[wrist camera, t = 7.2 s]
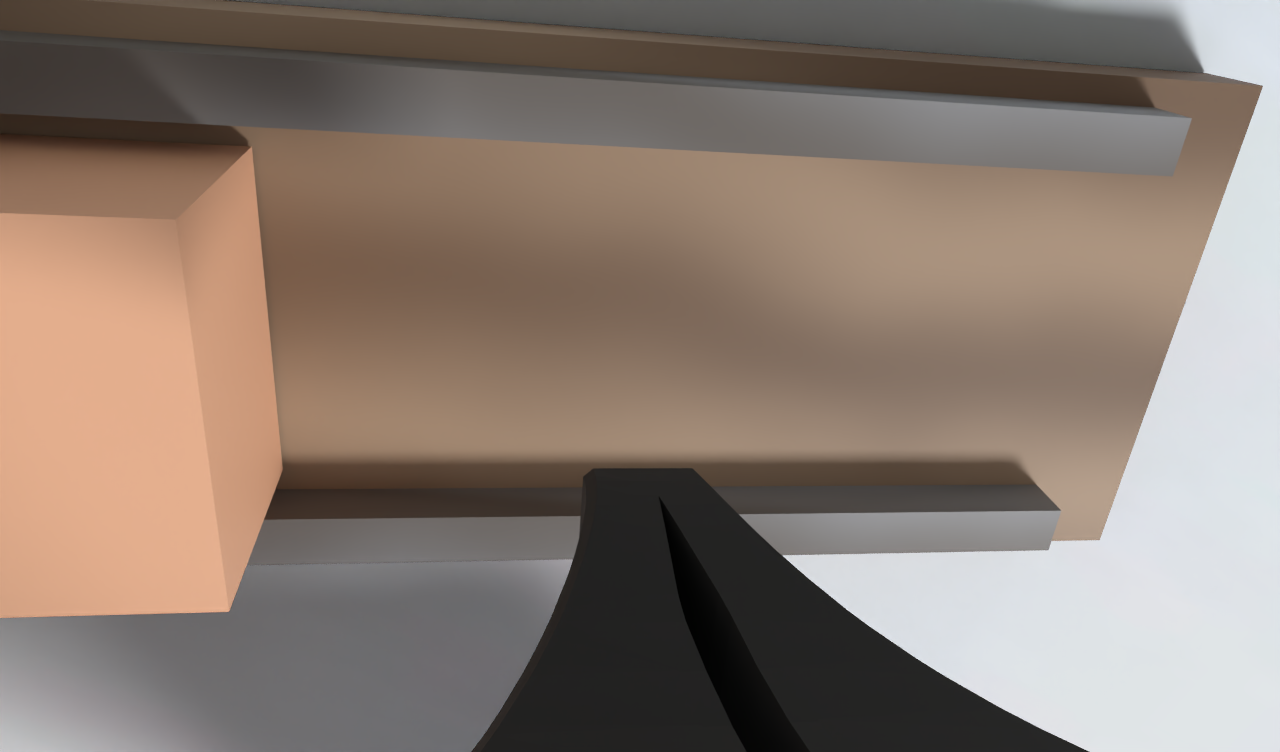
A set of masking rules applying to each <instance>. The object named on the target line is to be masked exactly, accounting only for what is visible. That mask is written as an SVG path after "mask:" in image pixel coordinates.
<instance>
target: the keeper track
mask: <svg viewBox="0 0 1280 752" xmlns="http://www.w3.org/2000/svg"><path fill="white" fill-rule="evenodd" d="M1262 87H1263V86H1261V85H1256V84H1252V83H1247V82H1243V81H1238V80H1234V79H1229V78H1225V77H1220V76H1216V75H1211V74H1207V73H1194V72H1180V71H1167V70H1154V69H1140V68H1127V67H1113V66H1100V65H1086V64H1073V63H1059V62H1046V61H1033V60H1019V59H1006V58H992V57H979V56H965V55H952V54H939V53H925V52H912V51H898V50H885V49H871V48H858V47H844V46H831V45H818V44H804V43H791V42H777V41H764V40H750V39H737V38H724V37H710V36H697V35H683V34H670V33H656V32H643V31H629V30H616V29H603V28H589V27H576V26H562V25H549V24H535V23H522V22H509V21H495V20H482V19H468V18H455V17H441V16H428V15H415V14H401V13H388V12H374V11H361V10H347V9H334V8H320V7H307V6H294V5H280V4H267V3H253V2H240V1H226V0H0V134H14V135H34V136H53V137H73V138H93V139H113V140H133V141H152V142H172V143H192V144H212V145H232V146H251V147H252V154H253V164H254V175H255V185H256V196H257V206H258V216H259V227H260V237H261V248H262V258H263V268H264V279H265V289H266V300H267V310H268V320H269V331H270V341H271V352H272V362H273V373H274V383H275V393H276V404H277V414H278V425H279V435H280V445H281V456H282V466H283V470H282V473H281V476H280V478H279V481H278V484H277V486H276V489H275V492H274V494H273V497H272V500H271V502H270V505H269V507H268V510H267V513H266V515H265V518H264V521H263V523H262V526H261V529H260V531H259V534H258V537H257V539H256V542H255V545H254V547H253V550H252V553H251V555H250V558H249V560H248V563H247V565H284V564H337V563H390V562H443V561H496V560H549V559H573V558H574V555H575V551H576V548H577V544H578V540H579V532H580V517H581V502H582V487H583V476H585V475H586V474H587V473H588V472H589V471H591V470H592V469H593V468H693V469H694V470H695V471H696V472H697V473H698V474H699V475H700V476H701V477H702V478H703V479H704V480H705V481H706V482H707V483H708V484H709V485H710V486H711V487H712V488H713V489H714V490H715V491H716V492H717V493H718V494H719V495H720V496H721V497H722V498H723V499H724V500H725V501H726V502H727V503H728V504H729V505H730V506H731V507H732V508H733V509H734V510H735V511H736V512H737V513H738V514H739V515H740V516H741V517H742V518H743V519H744V520H745V521H746V522H747V523H748V524H749V525H750V526H751V527H752V528H753V529H754V530H755V531H756V532H757V533H758V534H759V535H760V536H761V537H763V538H764V539H765V540H766V541H767V542H768V543H769V544H770V545H771V546H772V547H773V548H774V549H775V550H776V551H778V552H779V553H780V554H781V555H814V554H867V553H920V552H973V551H1026V550H1048V549H1049V546H1050V543H1051V541H1067V540H1100V537H1101V534H1102V532H1103V529H1104V526H1105V523H1106V521H1107V518H1108V515H1109V512H1110V509H1111V507H1112V504H1113V501H1114V498H1115V496H1116V493H1117V490H1118V487H1119V484H1120V482H1121V479H1122V476H1123V473H1124V471H1125V468H1126V465H1127V462H1128V459H1129V457H1130V454H1131V451H1132V448H1133V445H1134V443H1135V440H1136V437H1137V434H1138V432H1139V429H1140V426H1141V423H1142V420H1143V418H1144V415H1145V412H1146V409H1147V407H1148V404H1149V401H1150V398H1151V395H1152V393H1153V390H1154V387H1155V384H1156V382H1157V379H1158V376H1159V373H1160V370H1161V368H1162V365H1163V362H1164V359H1165V357H1166V354H1167V351H1168V348H1169V345H1170V343H1171V340H1172V337H1173V334H1174V332H1175V329H1176V326H1177V323H1178V320H1179V318H1180V315H1181V312H1182V309H1183V307H1184V304H1185V301H1186V298H1187V295H1188V293H1189V290H1190V287H1191V284H1192V282H1193V279H1194V276H1195V273H1196V270H1197V268H1198V265H1199V262H1200V259H1201V257H1202V254H1203V251H1204V248H1205V245H1206V243H1207V240H1208V237H1209V234H1210V232H1211V229H1212V226H1213V223H1214V220H1215V218H1216V215H1217V212H1218V209H1219V207H1220V204H1221V201H1222V198H1223V195H1224V193H1225V190H1226V187H1227V184H1228V181H1229V179H1230V176H1231V173H1232V170H1233V168H1234V165H1235V162H1236V159H1237V156H1238V154H1239V151H1240V148H1241V145H1242V143H1243V140H1244V137H1245V134H1246V131H1247V129H1248V126H1249V123H1250V120H1251V118H1252V115H1253V112H1254V109H1255V106H1256V104H1257V101H1258V98H1259V95H1260V93H1261V90H1262Z"/></svg>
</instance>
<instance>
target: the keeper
mask: <svg viewBox="0 0 1280 752" xmlns="http://www.w3.org/2000/svg"><path fill="white" fill-rule="evenodd" d="M282 470H283V466H282V456H281V445H280V435H279V425H278V414H277V404H276V393H275V383H274V373H273V362H272V352H271V341H270V331H269V320H268V310H267V300H266V289H265V279H264V268H263V258H262V248H261V237H260V227H259V216H258V206H257V196H256V185H255V175H254V164H253V154H252V147H251V146H232V145H212V144H192V143H172V142H152V141H133V140H113V139H93V138H73V137H53V136H34V135H14V134H0V618H15V617H52V616H90V615H128V614H166V613H203V612H229V611H230V608H231V605H232V603H233V600H234V598H235V595H236V592H237V590H238V587H239V584H240V582H241V579H242V576H243V574H244V571H245V568H246V566H247V563H248V560H249V558H250V555H251V553H252V550H253V547H254V545H255V542H256V539H257V537H258V534H259V531H260V529H261V526H262V523H263V521H264V518H265V515H266V513H267V510H268V507H269V505H270V502H271V500H272V497H273V494H274V492H275V489H276V486H277V484H278V481H279V478H280V476H281V473H282Z"/></svg>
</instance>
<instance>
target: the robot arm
mask: <svg viewBox="0 0 1280 752" xmlns="http://www.w3.org/2000/svg"><path fill="white" fill-rule="evenodd" d="M472 752H1089V751H1086V750H1084V749H1082V748H1080V747H1078V746H1076V745H1074V744H1072V743H1069V742H1067V741H1065V740H1063V739H1061V738H1059V737H1057V736H1055V735H1053V734H1050V733H1048V732H1046V731H1044V730H1042V729H1040V728H1038V727H1036V726H1034V725H1032V724H1030V723H1028V722H1026V721H1024V720H1023V719H1021V718H1019V717H1017V716H1015V715H1013V714H1011V713H1009V712H1007V711H1005V710H1003V709H1001V708H999V707H998V706H996V705H994V704H992V703H991V702H989V701H987V700H985V699H984V698H982V697H980V696H978V695H977V694H975V693H973V692H971V691H970V690H968V689H966V688H964V687H963V686H961V685H959V684H957V683H956V682H954V681H952V680H950V679H949V678H947V677H945V676H943V675H942V674H940V673H939V672H937V671H935V670H934V669H932V668H931V667H929V666H927V665H926V664H924V663H922V662H921V661H919V660H918V659H916V658H915V657H913V656H912V655H910V654H909V653H907V652H906V651H904V650H903V649H901V648H900V647H898V646H897V645H896V644H894V643H893V642H891V641H890V640H888V639H887V638H885V637H884V636H882V635H881V634H879V633H878V632H877V631H875V630H874V629H872V628H871V627H869V626H868V625H866V624H865V623H864V622H862V621H861V620H860V619H858V618H857V617H856V616H854V615H853V614H852V613H850V612H849V611H848V610H846V609H845V608H844V607H843V606H841V605H840V604H839V603H838V602H836V601H835V600H834V599H833V598H832V597H830V596H829V595H828V594H827V593H825V592H824V591H823V590H822V589H820V588H819V587H818V586H817V585H816V584H814V583H813V582H812V581H811V580H809V579H808V578H807V577H806V576H805V575H804V574H802V573H801V572H800V571H799V570H798V569H797V568H795V567H794V566H793V565H792V564H791V563H790V562H789V561H788V560H786V559H785V558H784V557H783V556H782V555H781V554H780V553H779V552H778V551H776V550H775V549H774V548H773V547H772V546H771V545H770V544H769V543H768V542H767V541H766V540H765V539H764V538H763V537H761V536H760V535H759V534H758V533H757V532H756V531H755V530H754V529H753V528H752V527H751V526H750V525H749V524H748V523H747V522H746V521H745V520H744V519H743V518H742V517H741V516H740V515H739V514H738V513H737V512H736V511H735V510H734V509H733V508H732V507H731V506H730V505H729V504H728V503H727V502H726V501H725V500H724V499H723V498H722V497H721V496H720V495H719V494H718V493H717V492H716V491H715V490H714V489H713V488H712V487H711V486H710V485H709V484H708V483H707V482H706V481H705V480H704V479H703V478H702V477H701V476H700V475H699V474H698V473H697V472H696V471H695V470H694V469H693V468H593V469H592V470H591V471H589V472H588V473H587V474H586V475H585V476H583V487H582V502H581V517H580V532H579V540H578V544H577V548H576V551H575V555H574V558H573V562H572V565H571V568H570V571H569V574H568V576H567V579H566V582H565V584H564V587H563V589H562V592H561V594H560V597H559V599H558V602H557V604H556V607H555V609H554V612H553V614H552V617H551V619H550V621H549V623H548V625H547V627H546V630H545V632H544V634H543V636H542V638H541V640H540V642H539V644H538V646H537V648H536V650H535V652H534V654H533V655H532V657H531V659H530V661H529V663H528V665H527V667H526V669H525V670H524V672H523V674H522V676H521V677H520V679H519V681H518V682H517V684H516V686H515V687H514V689H513V691H512V692H511V694H510V696H509V697H508V699H507V700H506V702H505V704H504V705H503V707H502V709H501V710H500V712H499V713H498V715H497V716H496V718H495V720H494V721H493V723H492V724H491V726H490V727H489V729H488V730H487V731H486V733H485V734H484V736H483V737H482V739H481V740H480V741H479V743H478V744H477V745H476V747H475V748H474V749H473V751H472Z"/></svg>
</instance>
